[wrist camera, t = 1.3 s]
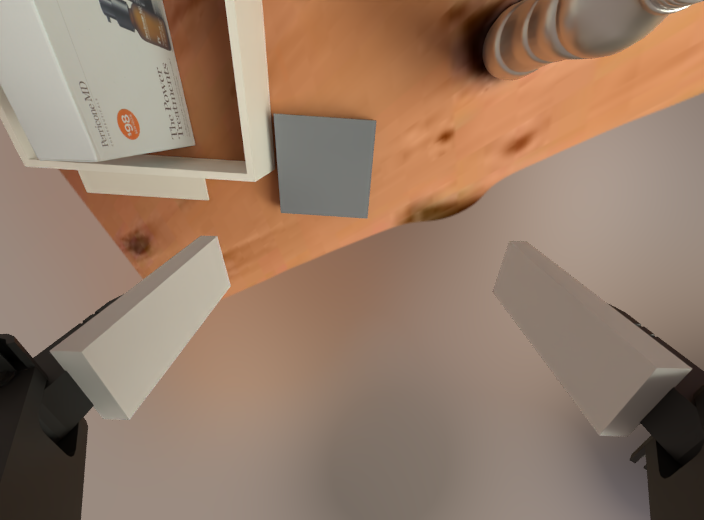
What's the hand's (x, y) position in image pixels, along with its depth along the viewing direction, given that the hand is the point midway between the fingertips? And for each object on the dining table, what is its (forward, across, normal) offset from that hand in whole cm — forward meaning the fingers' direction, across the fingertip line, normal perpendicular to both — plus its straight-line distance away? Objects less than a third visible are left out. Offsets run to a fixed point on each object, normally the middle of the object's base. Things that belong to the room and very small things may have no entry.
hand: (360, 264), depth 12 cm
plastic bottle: (+27, +16, +13) cm, 34 cm away
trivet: (+27, -5, 0) cm, 27 cm away
